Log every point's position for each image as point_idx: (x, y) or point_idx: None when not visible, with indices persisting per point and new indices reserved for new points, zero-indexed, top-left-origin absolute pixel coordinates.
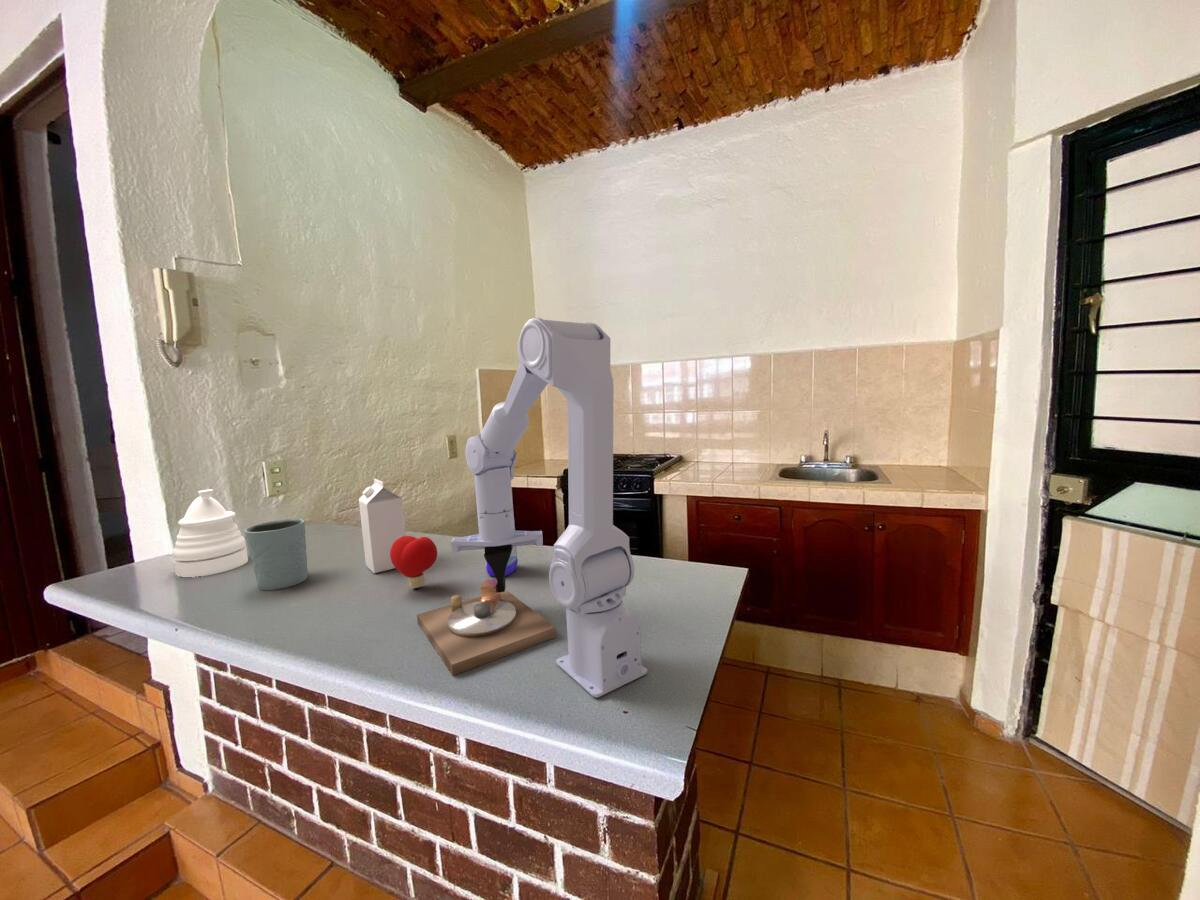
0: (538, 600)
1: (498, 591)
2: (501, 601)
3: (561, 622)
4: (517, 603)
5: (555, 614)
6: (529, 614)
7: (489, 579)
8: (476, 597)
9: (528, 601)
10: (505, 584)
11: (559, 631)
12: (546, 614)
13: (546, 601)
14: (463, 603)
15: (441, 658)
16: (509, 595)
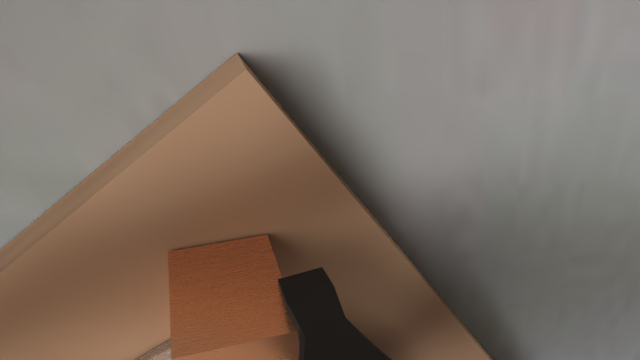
0: (456, 103)
1: None
2: None
3: (540, 297)
4: (379, 273)
5: (526, 243)
6: (445, 355)
7: (212, 352)
8: (65, 226)
9: (400, 117)
10: (327, 276)
11: (525, 350)
12: (490, 247)
13: (498, 115)
14: (14, 313)
15: None
16: (310, 180)
